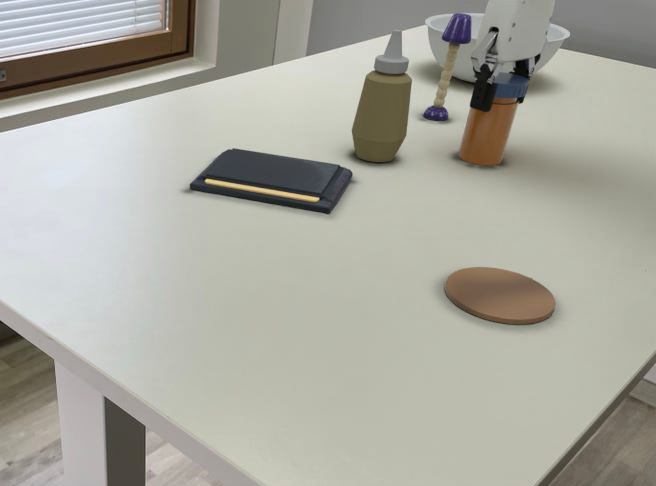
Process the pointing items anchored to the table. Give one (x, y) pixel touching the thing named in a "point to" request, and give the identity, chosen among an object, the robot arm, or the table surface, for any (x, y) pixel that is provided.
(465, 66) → the bowl
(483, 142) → the jar
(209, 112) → the table surface
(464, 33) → the toy lamp
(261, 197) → the wallet
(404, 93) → the squeeze bottle
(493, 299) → the coaster
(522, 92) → the lid
